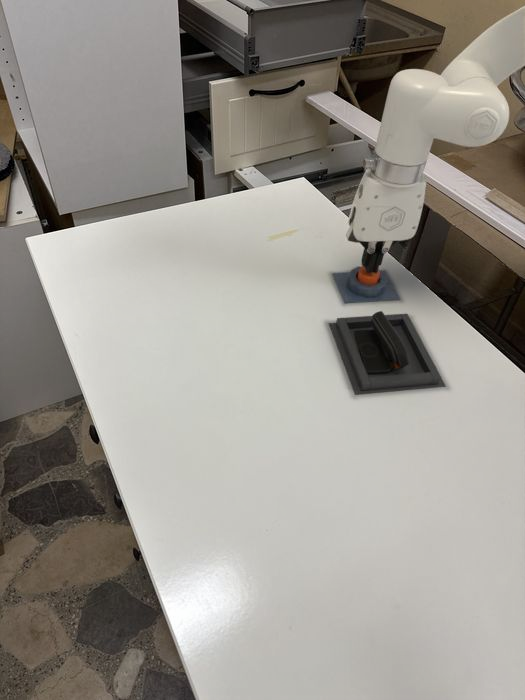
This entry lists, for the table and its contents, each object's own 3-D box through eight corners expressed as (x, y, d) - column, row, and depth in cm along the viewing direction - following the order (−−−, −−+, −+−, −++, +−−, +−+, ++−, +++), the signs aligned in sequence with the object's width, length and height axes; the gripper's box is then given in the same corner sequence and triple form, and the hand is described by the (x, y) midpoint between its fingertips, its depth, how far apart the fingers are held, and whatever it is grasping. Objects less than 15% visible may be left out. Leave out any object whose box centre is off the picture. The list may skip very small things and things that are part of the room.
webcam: (406, 374, 78) (417, 347, 73) (366, 374, 77) (374, 347, 73) (391, 331, 84) (400, 304, 80) (353, 331, 83) (360, 304, 79)
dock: (408, 321, 88) (412, 310, 86) (444, 390, 77) (449, 379, 76) (327, 327, 85) (329, 316, 83) (353, 399, 75) (357, 388, 73)
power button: (374, 272, 92) (376, 264, 91) (380, 285, 90) (383, 277, 88) (354, 273, 92) (356, 265, 90) (360, 286, 89) (362, 278, 88)
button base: (383, 275, 96) (387, 262, 94) (398, 304, 91) (403, 290, 88) (331, 278, 94) (334, 264, 92) (343, 307, 89) (346, 294, 87)
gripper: (355, 179, 72) (332, 284, 85) (455, 178, 75) (418, 280, 88) (341, 154, 77) (321, 256, 90) (435, 153, 80) (403, 253, 93)
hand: (369, 268), depth 89 cm, fingers closed
